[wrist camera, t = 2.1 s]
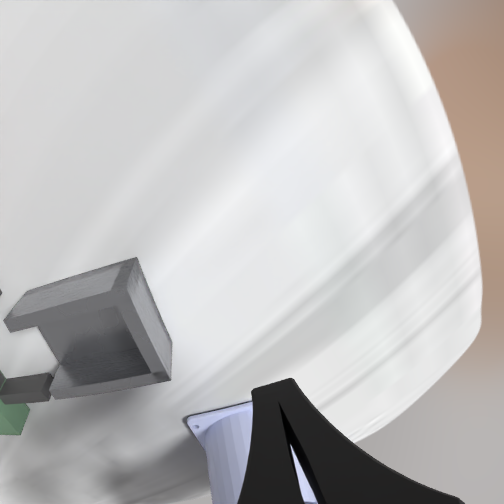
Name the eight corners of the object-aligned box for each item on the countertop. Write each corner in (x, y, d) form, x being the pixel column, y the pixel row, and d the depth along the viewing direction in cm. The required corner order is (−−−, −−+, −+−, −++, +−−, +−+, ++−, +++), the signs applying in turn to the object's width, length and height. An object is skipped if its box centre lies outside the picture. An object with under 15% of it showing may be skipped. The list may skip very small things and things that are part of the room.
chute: (172, 342, 19) (170, 380, 16) (68, 364, 19) (55, 399, 15) (136, 256, 17) (125, 286, 14) (27, 291, 16) (3, 320, 13)
